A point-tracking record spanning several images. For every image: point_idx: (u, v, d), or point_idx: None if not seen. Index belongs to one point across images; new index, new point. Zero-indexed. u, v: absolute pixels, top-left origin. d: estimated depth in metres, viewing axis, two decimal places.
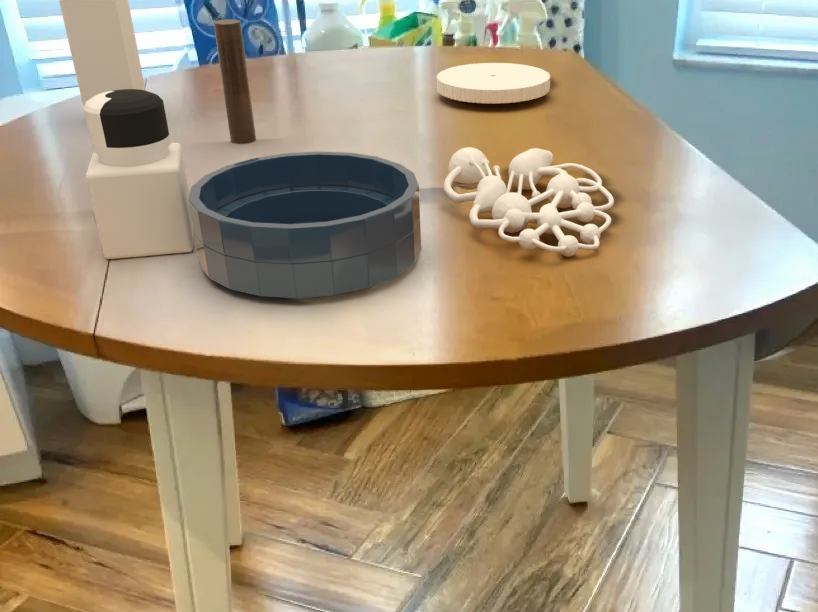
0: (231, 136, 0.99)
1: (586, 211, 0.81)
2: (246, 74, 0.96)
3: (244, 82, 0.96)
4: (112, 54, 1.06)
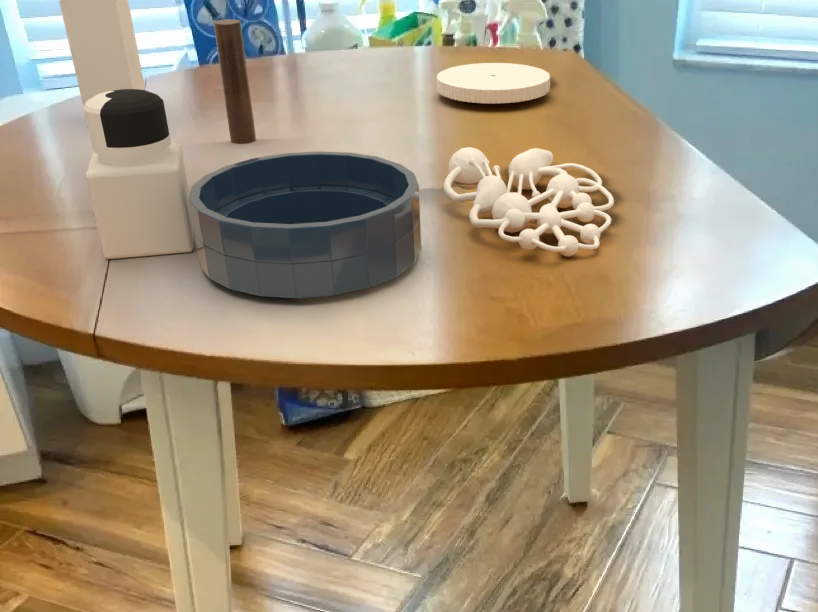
0: (231, 136, 0.99)
1: (586, 211, 0.81)
2: (246, 74, 0.96)
3: (244, 82, 0.96)
4: (112, 54, 1.06)
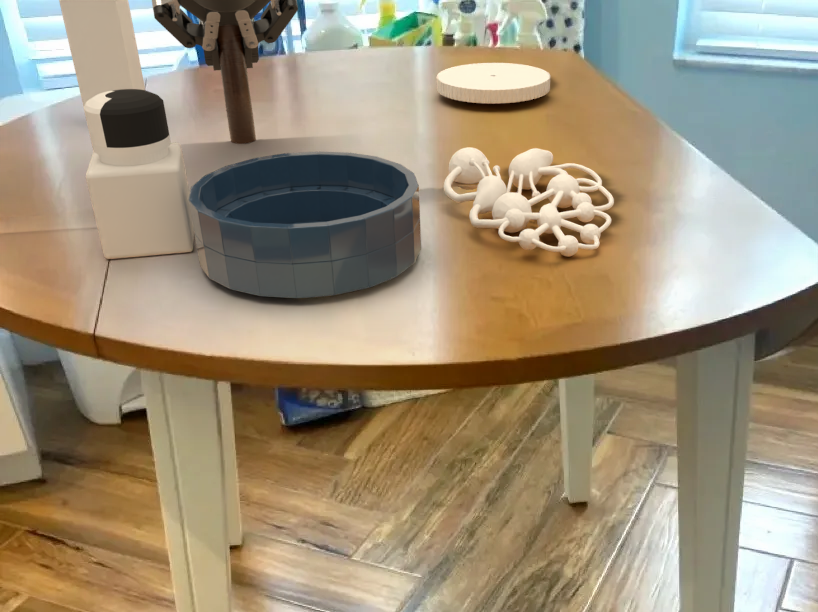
0: (231, 136, 0.99)
1: (586, 211, 0.81)
2: (246, 74, 0.96)
3: (244, 82, 0.96)
4: (112, 54, 1.06)
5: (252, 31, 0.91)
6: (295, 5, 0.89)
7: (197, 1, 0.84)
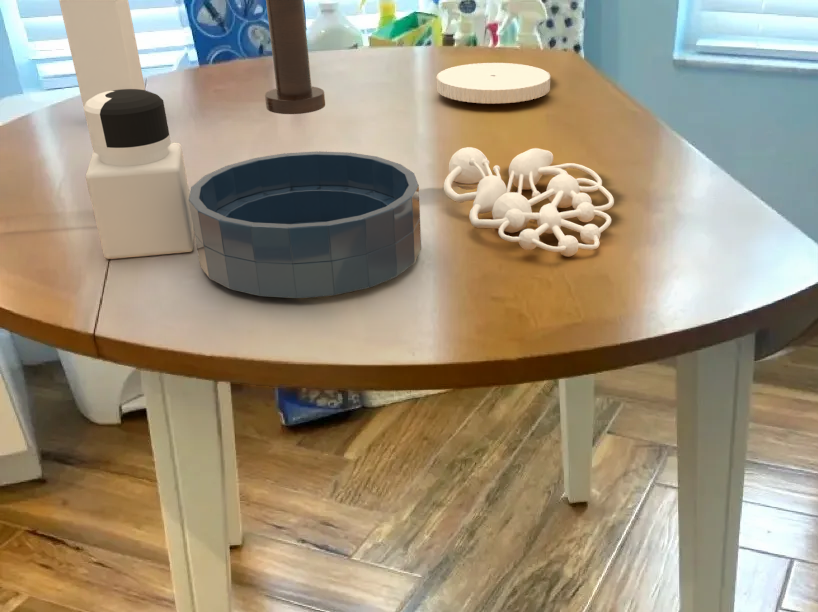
0: (277, 78, 0.70)
1: (586, 211, 0.81)
2: None
3: None
4: (112, 54, 1.06)
5: None
6: None
7: None
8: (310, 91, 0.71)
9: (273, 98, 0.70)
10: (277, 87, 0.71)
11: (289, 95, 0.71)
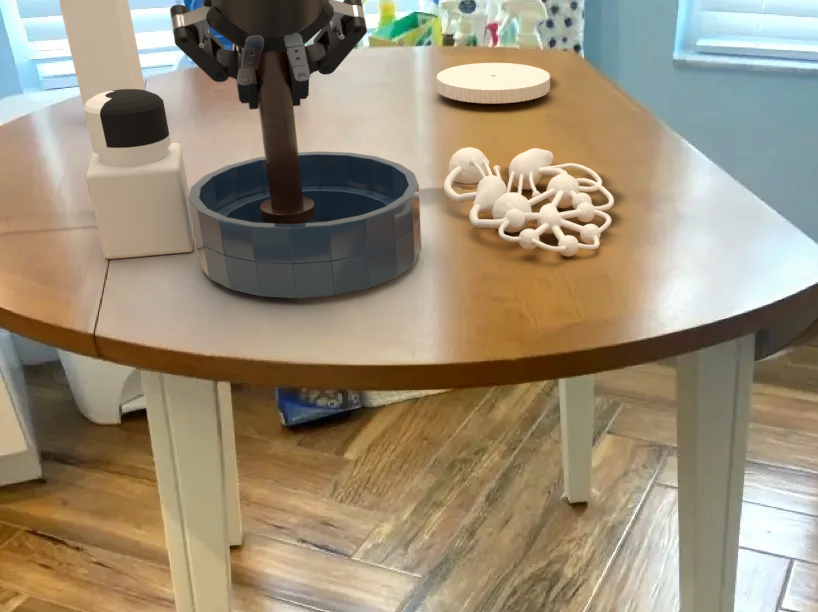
0: (271, 193, 0.76)
1: (586, 211, 0.81)
2: (293, 114, 0.73)
3: (290, 125, 0.73)
4: (112, 54, 1.06)
5: (304, 60, 0.68)
6: (364, 26, 0.66)
7: (235, 21, 0.61)
8: (302, 204, 0.77)
9: (267, 211, 0.76)
10: (271, 201, 0.77)
11: (282, 208, 0.76)
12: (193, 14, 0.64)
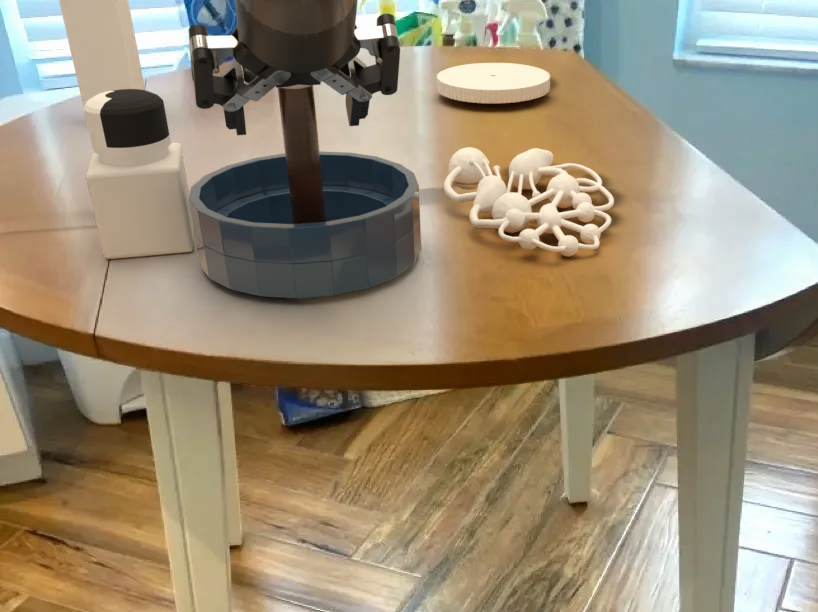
0: None
1: (586, 211, 0.81)
2: (318, 151, 0.73)
3: (315, 162, 0.73)
4: (112, 54, 1.06)
5: (349, 86, 0.67)
6: (393, 44, 0.64)
7: (263, 58, 0.60)
8: None
9: None
10: None
11: None
12: (219, 39, 0.62)
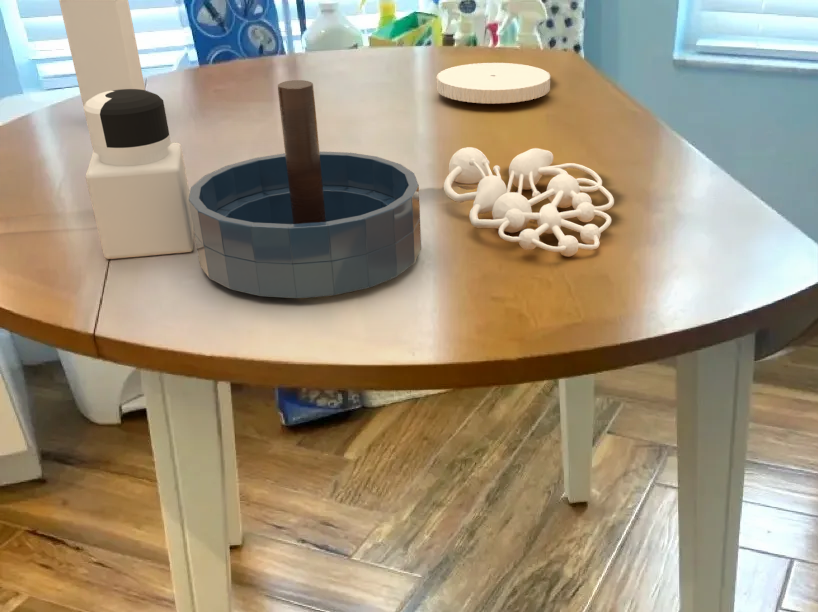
0: None
1: (586, 211, 0.81)
2: (318, 151, 0.73)
3: (315, 162, 0.73)
4: (112, 54, 1.06)
5: None
6: None
7: None
8: None
9: None
10: None
11: None
12: None
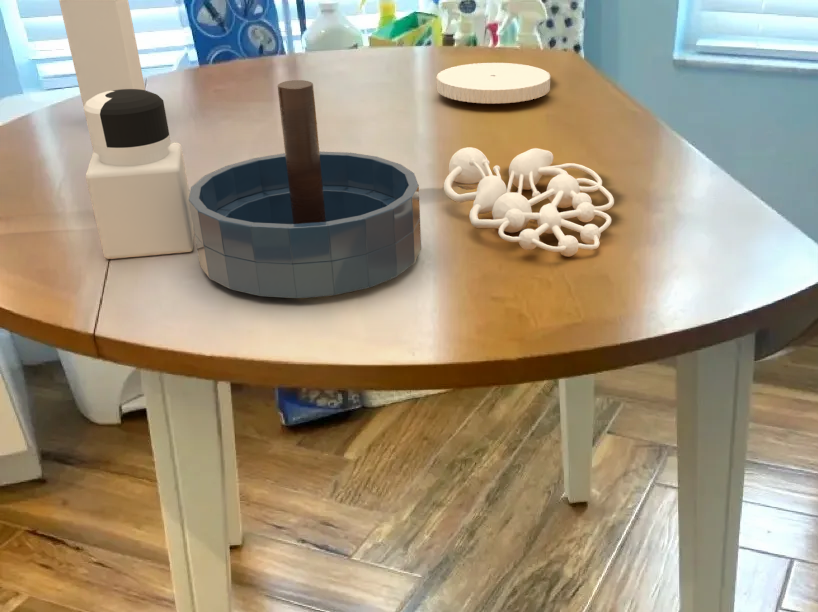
0: None
1: (586, 211, 0.81)
2: (318, 151, 0.73)
3: (315, 162, 0.73)
4: (112, 54, 1.06)
5: None
6: None
7: None
8: None
9: None
10: None
11: None
12: None
